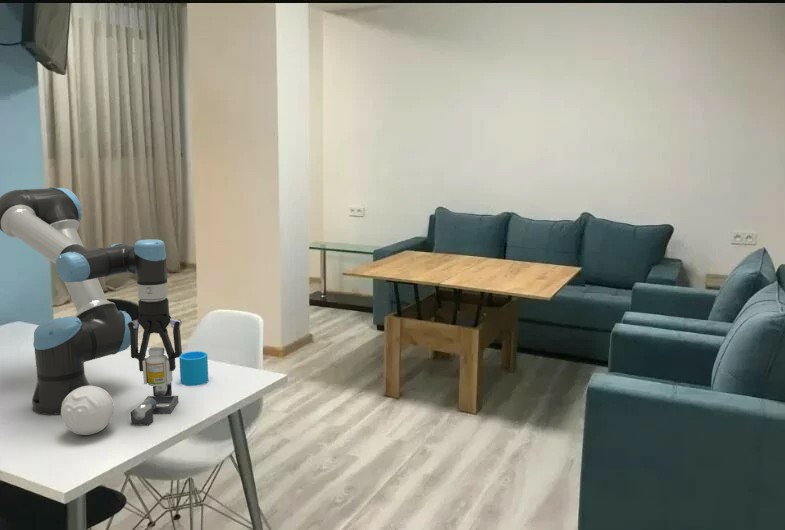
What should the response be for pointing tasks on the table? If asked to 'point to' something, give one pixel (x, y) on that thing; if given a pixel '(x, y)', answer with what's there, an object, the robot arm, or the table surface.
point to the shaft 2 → (162, 390)
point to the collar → (165, 400)
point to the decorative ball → (87, 410)
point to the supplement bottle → (156, 367)
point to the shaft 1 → (143, 413)
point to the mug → (193, 368)
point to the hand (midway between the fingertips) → (158, 382)
